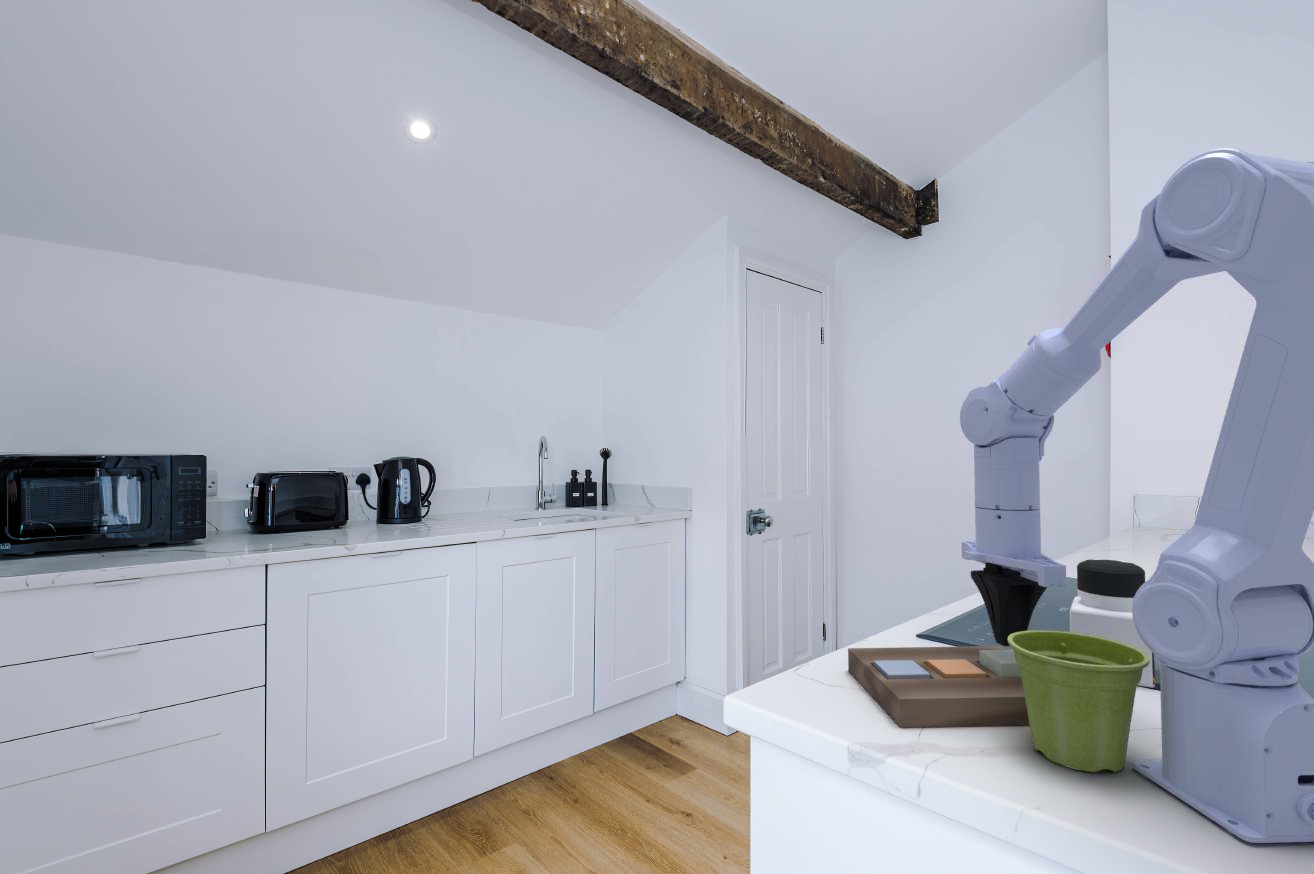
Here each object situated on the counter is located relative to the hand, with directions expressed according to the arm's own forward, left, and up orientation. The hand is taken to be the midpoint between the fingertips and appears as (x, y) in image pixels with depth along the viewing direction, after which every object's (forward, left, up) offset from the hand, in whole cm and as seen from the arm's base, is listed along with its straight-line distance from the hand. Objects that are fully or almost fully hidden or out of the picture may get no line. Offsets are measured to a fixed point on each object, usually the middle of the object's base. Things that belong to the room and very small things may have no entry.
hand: (1009, 644), depth 62 cm
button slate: (0, +11, -4) cm, 12 cm away
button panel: (0, +5, -5) cm, 7 cm away
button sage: (0, 0, -4) cm, 4 cm away
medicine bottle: (+5, -15, -5) cm, 16 cm away
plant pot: (-12, +2, -5) cm, 14 cm away
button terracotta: (0, +5, -4) cm, 7 cm away
